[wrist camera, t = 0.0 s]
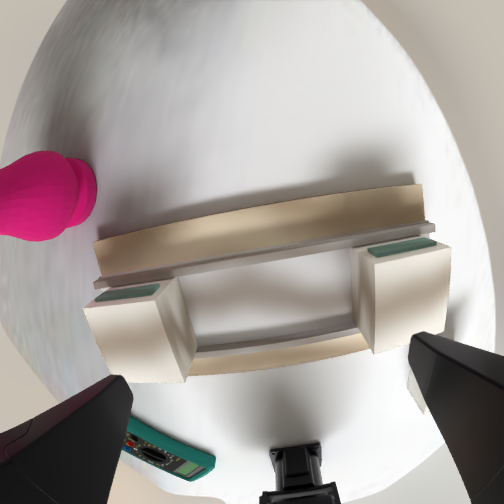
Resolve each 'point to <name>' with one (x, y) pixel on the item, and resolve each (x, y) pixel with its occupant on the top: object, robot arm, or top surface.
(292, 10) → the top surface
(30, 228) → the pepper mill
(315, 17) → the top surface
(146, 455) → the digital multimeter
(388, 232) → the rail panel
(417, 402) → the block
